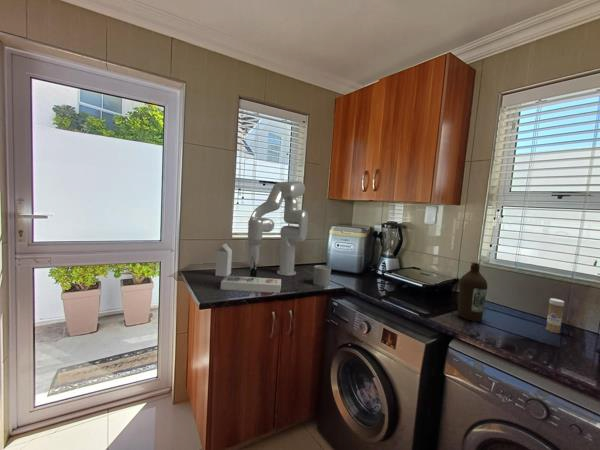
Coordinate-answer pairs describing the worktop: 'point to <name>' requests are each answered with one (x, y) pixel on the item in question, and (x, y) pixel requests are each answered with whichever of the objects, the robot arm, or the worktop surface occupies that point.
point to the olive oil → (472, 294)
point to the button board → (251, 284)
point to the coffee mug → (321, 275)
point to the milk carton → (223, 261)
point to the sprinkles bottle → (555, 315)
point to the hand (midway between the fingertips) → (253, 276)
